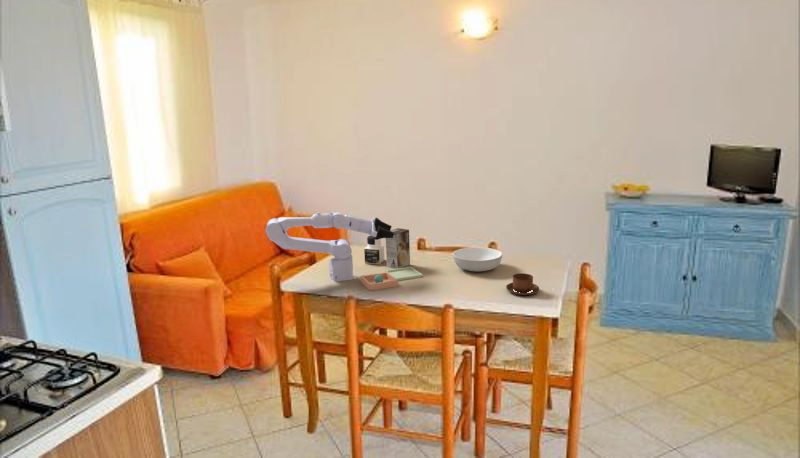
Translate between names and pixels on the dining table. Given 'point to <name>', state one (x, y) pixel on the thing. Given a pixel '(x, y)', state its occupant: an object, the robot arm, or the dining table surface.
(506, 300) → the dining table surface
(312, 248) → the robot arm
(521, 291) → the cup and saucer
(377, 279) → the ball
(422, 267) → the dining table surface
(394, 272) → the tray
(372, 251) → the medicine bottle
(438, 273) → the dining table surface
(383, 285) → the dish
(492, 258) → the serving bowl
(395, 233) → the coffee box
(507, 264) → the dining table surface
